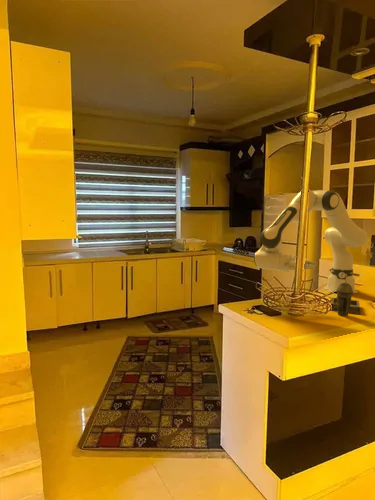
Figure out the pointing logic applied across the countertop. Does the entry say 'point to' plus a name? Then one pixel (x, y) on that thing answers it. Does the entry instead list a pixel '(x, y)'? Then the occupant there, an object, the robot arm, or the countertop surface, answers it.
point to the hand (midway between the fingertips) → (315, 265)
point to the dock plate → (353, 306)
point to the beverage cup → (344, 298)
